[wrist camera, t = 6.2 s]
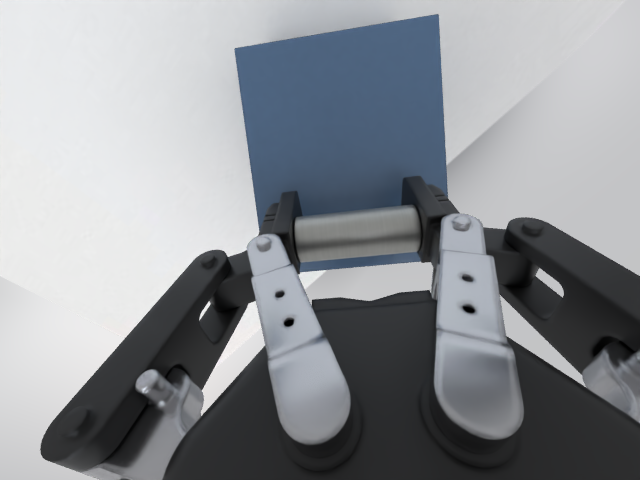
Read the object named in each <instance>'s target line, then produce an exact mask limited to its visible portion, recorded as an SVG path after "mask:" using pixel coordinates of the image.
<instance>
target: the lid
mask: <svg viewBox="0 0 640 480" xmlns="http://www.w3.org/2000/svg"><path fill="white" fill-rule="evenodd" d="M235 56H236V63H237V71H238V78H239V85H240V93H241V100H242V107H243V114H244V122H245V129H246V136H247V144H248V151H249V158H250V165H251V173H252V180H253V187H254V195H255V202H256V209H257V216H258V224H259V231H260V229H261V226H262V223H263V222H264V221H263V220H264V217H265V214H266V211H267V209H268V208H269V207H270V206H271V205H272V204H273V203H279V201H280V198H281V194H282V192H290V191H297V192H298V196H299V200H300V205H301V210H302V214H303V216H301V217H296V218H295V220H294V242H295V249H296V254H297V257H298V260H299V261H300V262H301V265H300V272H308V271H319V270H330V269H340V268H353V267H364V266H375V265H386V264H397V263H408V262H420V261H421V260H420V257H419V255H418V253H417V251H419V249H420V246H421V241H422V229H421V221H420V216H419V213H418V210H417V208H416V207H415V206H414V205H403V206H401V198H402V181H403V178H404V177H411V176H421V177H422V179H423V180H424V181H425V183H426V184H427V185H430V184H433V185H435V186H436V187H438V188H440V189H441V190H442V191H443V192H444V194H445V196H447V198H448V195H447V194H448V192H447V173H446V152H445V132H444V113H443V93H442V73H441V54H440V34H439V15H438V14H436V15H430V16H424V17H418V18H412V19H406V20H400V21H394V22H388V23H382V24H377V25H371V26H365V27H359V28H353V29H347V30H341V31H335V32H329V33H323V34H317V35H311V36H305V37H299V38H293V39H287V40H282V41H276V42H270V43H264V44H258V45H252V46H246V47H240V48H235Z"/></svg>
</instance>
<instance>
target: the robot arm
mask: <svg viewBox="0 0 640 480" xmlns="http://www.w3.org/2000/svg"><path fill="white" fill-rule="evenodd" d="M403 205H414V206H415V207H416V208H417V210H418V213H419V216H420V221H421V229H422V241H421V246H420V249H419V251H417V253H418V255H419V257H420V260H421V262H422V263H424V262H431V263H432V265H433V267H434V268H433V275H432V286H431V293H430V291H429V290H427V291H413V292H401V293H397V294H394V295H390V296H387V297H383V298H380V299H377V300H373V301H363V300H355V299H347V298H328V299H316V300H312V306H311V304H310V302H309V299H308V297H307V295H306V292H305V290H304V288H303V285H302V283H301V281H300V279H299V276H298V274H300V265H301V262H300V261H299V260H298V257H297V254H296V249H295V242H294V220H295V218H296V217H301V216H303V214H302V210H301V205H300V200H299V196H298V192H297V191H290V192H282V194H281V198H280V201H279V203H273V204H272V205H271V206H270V207H269V208H268V209H267V211H266V214H265V217H264V220H263V221H264V222H263V223H262V226H261V229H260V232H259V235H258V236H257V237H255V238H254V239H252V240H251V241H250V242H249V243H248V245H247V250H246V251H244V252H242V253H240V254H236V255H233V256H230V257H227V255H226V253H225V252H224V251H222V250H211V251H208V252H205V253H203V254H201V255H200V256H198V257H197V258H196V259H195V260H194V261H193V262H192V263H191V264H190V265H189V266H188V267H187V269H186V270H185V271H184V272H183V273H182V274H181V275H180V277H179V278H178V279H177V280H176V281H175V282H174V283H173V285H172V286H171V287H170V288H169V289H168V290H167V291H166V293H165V294H164V295H163V296H162V297H161V298H160V299H159V301H158V302H157V303H156V304H155V305H154V306H153V307H152V308H151V310H150V311H149V312H148V313H147V314H146V315H145V316H144V318H143V319H142V320H141V321H140V322H139V323H138V324H137V326H136V327H135V328H134V329H133V330H132V331H131V332H130V334H129V335H128V336H127V337H126V338H125V339H124V340H123V342H122V343H121V344H120V345H119V346H118V347H117V349H115V351H114V352H113V353H112V354H111V355H110V356H109V357H108V359H107V360H106V361H105V362H104V363H103V364H102V365H101V367H100V368H99V369H98V370H97V371H96V372H95V373H94V375H93V376H92V377H91V378H90V379H89V380H88V381H87V383H86V384H85V385H84V386H83V387H82V388H81V389H80V390H79V392H78V393H77V394H76V395H75V396H74V397H73V398H72V400H71V401H70V402H69V403H68V404H67V406H65V408H64V409H63V410H62V411H61V412H60V413H59V415H58V416H57V417H56V418H55V419H54V420H53V422H52V423H51V424H50V426H49V427H48V429H47V431H46V433H45V435H44V437H43V439H42V443H41V449H40V450H41V455H42V457H43V458H44V459H45V460H48V461H50V462H53V463H56V464H58V465H61V466H64V467H67V468H69V469H72V470H75V471H78V472H80V473H83V474H86V475H88V476H91V477H94V478H97V479H99V480H640V276H638V275H637V274H635V273H633V272H632V271H630V270H628V269H626V268H625V267H623V266H621V265H620V264H618V263H616V262H614V261H613V260H611V259H609V258H607V257H606V256H604V255H602V254H601V253H599V252H597V251H595V250H594V249H592V248H590V247H589V246H587V245H585V244H583V243H582V242H580V241H578V240H576V239H574V238H573V237H571V236H569V235H568V234H566V233H564V232H563V231H561V230H559V229H557V228H556V227H554V226H552V225H550V224H549V223H547V222H544V221H542V220H539V219H534V218H516V219H513V220H511V221H510V222H509V223H508V226H507V228H506V229H493V228H484V227H483V225H482V223H481V221H480V220H479V219H477V218H476V217H473V216H471V215H467V214H460V213H459V212H458V211H457V209H456V208H455V207H454V205H453V204H452V203H451V201H449V199H448V198H447V196H445V194H444V192H443V191H442V190H441V189H440V188H438V187H436V186H435V185H433V184H430V185H427V184H426V183H425V181H424V180H423V179H422V177H421V176H411V177H404V178H403V181H402V198H401V206H403ZM539 268H541V269H542V270H543V271H545V272H546V273H547V274H549V275H550V276H551V277H553V278H554V279H555V280H557V281H558V282H559V283H560V284H561V286H562V288H563V290H564V296H563V298H562V297H561V296H560V295H558V294H557V293H556V292H555V291H553V290H552V289H551V288H550V287H548V286H547V285H546V284H544V283H543V282H542V281H541V280H539V279H538V278H537V277H536V276H535V275H536V273H537V271H538V269H539ZM500 295H501V296H502V297H503V298H504V299H505V300H506V301H507V302H508V303H509V304H510V305H511V306H512V307H513V308H514V309H515V310H516V311H517V312H518V313H519V314H520V315H521V316H522V317H523V318H525V320H526V321H527V322H528V323H529V324H530V325H531V326H533V327H534V328H535V329H536V330H537V331H538V332H539V333H540V334H541V335H542V336H543V337H544V338H545V339H546V340H547V341H548V342H549V343H550V344H551V345H552V346H553V347H554V348H555V349H556V350H557V351H558V352H559V353H560V354H561V355H562V356H563V357H564V358H565V359H566V360H567V361H568V362H569V363H571V365H572V366H574V368H575V369H576V370H578V372H579V373H580V374H582V376H583V381H584V383H585V385H586V387H587V388H586V387H584V386H583V385H581V384H580V383H578V382H577V381H575V380H574V379H572V378H570V377H569V376H567V375H566V374H564V373H563V372H561V371H560V370H558V369H556V368H555V367H553V366H552V365H550V364H549V363H547V362H545V361H544V360H543V359H541V358H539V357H538V356H536V355H535V354H533V353H532V352H530V351H529V350H527V349H525V348H524V347H522V346H521V345H519V344H518V343H516V342H514V341H513V340H512V339H510V338H509V337H507V336H506V333H505V327H504V320H503V313H502V307H501V301H500ZM209 301H210V303H211V305H210V306H209V308H208V309H207V311H206V312H205V314H204V315H203V317H202V318H201V320H200V321H199V317H200V314H201V312H202V310H203V309H204V307H205V306H206V304H207V303H208V302H209ZM254 301H256V303H257V308H258V313H259V317H260V322H261V327H262V331H263V336H264V341H265V346H264V347H263V349H262V350H261V351H260V352H259V353H258V354H257V355H256V356H255V358H254V359H253V360H252V361H251V362H250V363H249V364H248V365H247V366H246V367H245V368H244V370H243V371H242V372H241V373H240V374H239V375H238V376H237V377H236V379H235V380H234V381H233V382H232V383H231V384H230V385H229V386H228V387H227V388H226V390H225V391H224V392H223V393H222V394H221V395H220V396H219V397H218V399H217V400H216V401H215V402H214V403H213V404H212V405H211V406H210V407H209V408H208V410H207V411H206V412H205V413H204V414H203V415H202V416H201V410H202V407H203V401H204V396H203V392H202V389H203V387H204V385H205V384H206V382H207V380H208V378H209V376H210V374H211V373H212V371H213V369H214V367H215V365H216V363H217V362H218V360H219V358H220V356H221V354H222V352H223V351H224V349H225V347H226V345H227V343H228V341H229V339H230V338H231V336H232V334H233V332H234V330H235V328H236V327H237V325H238V323H239V321H240V319H241V317H242V316H243V314H244V312H245V310H246V308H247V306H248V303H251V302H254Z"/></svg>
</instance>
